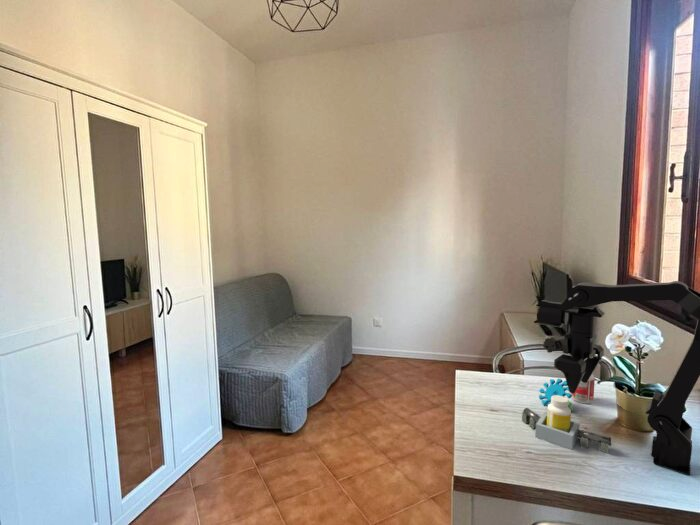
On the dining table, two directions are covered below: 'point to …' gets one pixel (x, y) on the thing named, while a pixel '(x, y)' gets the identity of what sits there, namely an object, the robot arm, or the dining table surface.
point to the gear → (555, 391)
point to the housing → (557, 433)
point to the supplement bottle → (559, 413)
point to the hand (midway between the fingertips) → (578, 387)
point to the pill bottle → (585, 391)
